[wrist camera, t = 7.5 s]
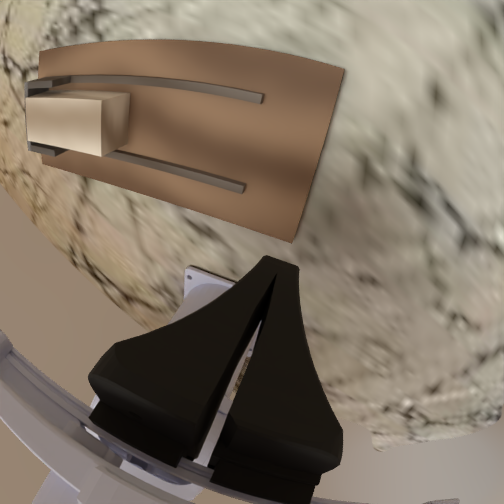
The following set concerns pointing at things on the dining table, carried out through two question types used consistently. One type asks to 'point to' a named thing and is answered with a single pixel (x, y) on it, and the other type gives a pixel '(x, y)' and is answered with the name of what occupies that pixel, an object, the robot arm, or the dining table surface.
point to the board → (203, 125)
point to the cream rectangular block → (79, 120)
